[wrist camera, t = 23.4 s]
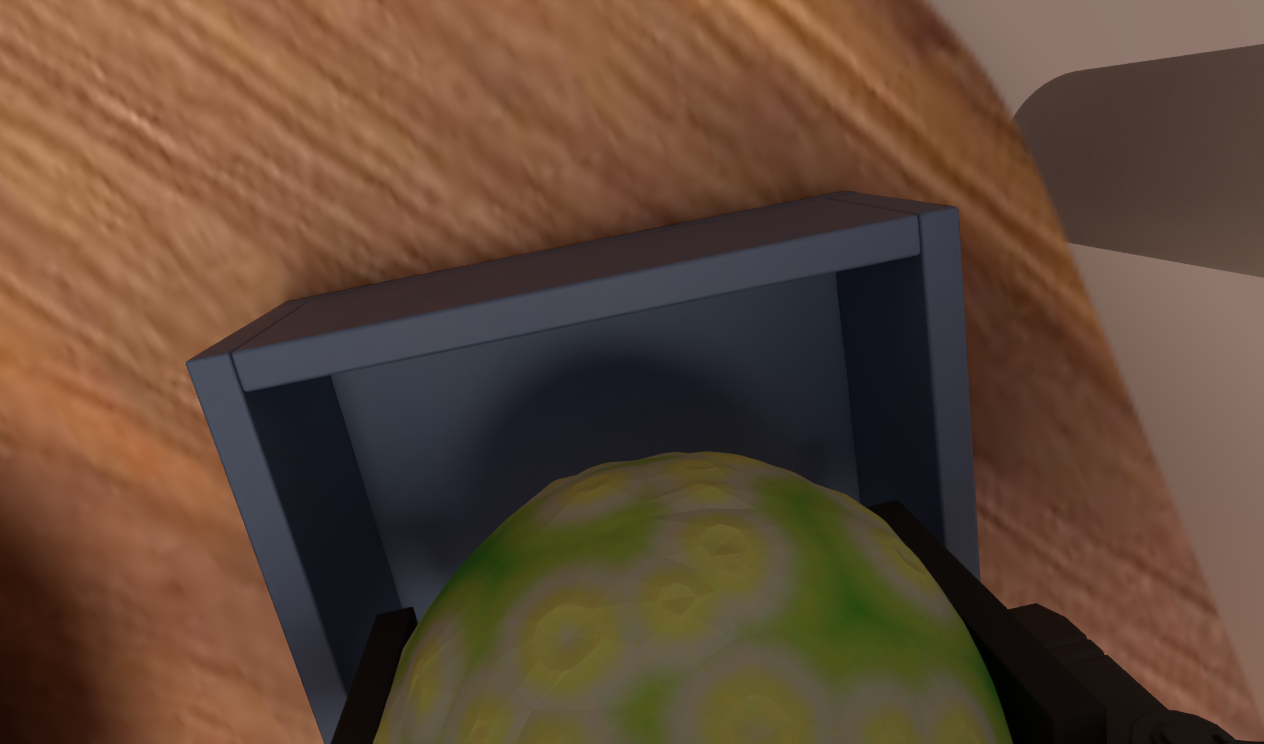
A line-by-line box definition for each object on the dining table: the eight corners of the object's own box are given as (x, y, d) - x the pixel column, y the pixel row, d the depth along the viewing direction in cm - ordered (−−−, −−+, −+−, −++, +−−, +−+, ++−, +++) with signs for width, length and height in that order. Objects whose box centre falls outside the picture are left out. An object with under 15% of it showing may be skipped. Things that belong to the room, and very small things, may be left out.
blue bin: (846, 189, 20) (960, 205, 15) (893, 657, 25) (995, 806, 19) (284, 301, 20) (183, 361, 14) (432, 765, 24) (399, 952, 18)
